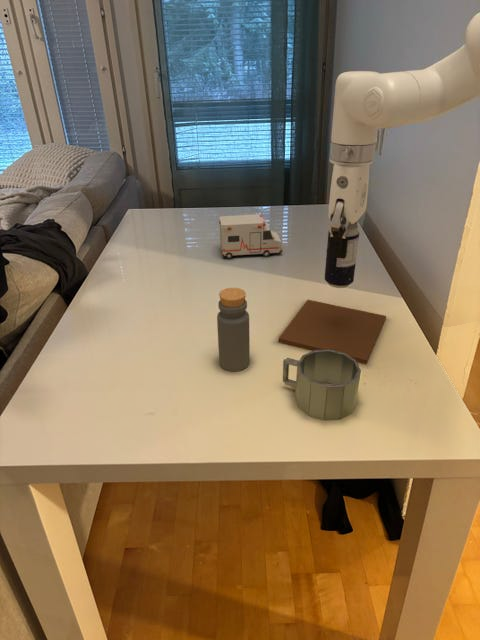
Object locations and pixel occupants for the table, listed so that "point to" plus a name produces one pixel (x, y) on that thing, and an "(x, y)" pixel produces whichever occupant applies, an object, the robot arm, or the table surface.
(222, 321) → the bottle
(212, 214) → the table surface
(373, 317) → the mat
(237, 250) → the toy vehicle
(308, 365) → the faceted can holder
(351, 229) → the beverage can
